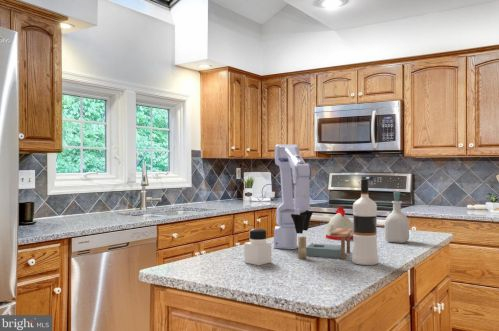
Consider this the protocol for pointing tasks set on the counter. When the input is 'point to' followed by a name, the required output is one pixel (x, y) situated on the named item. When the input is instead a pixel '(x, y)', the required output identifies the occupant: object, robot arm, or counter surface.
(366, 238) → the vodka
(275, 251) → the counter surface
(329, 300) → the counter surface
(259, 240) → the medicine bottle
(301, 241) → the birch peg
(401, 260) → the counter surface
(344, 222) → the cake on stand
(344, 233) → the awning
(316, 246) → the socket block
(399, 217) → the soap bottle
